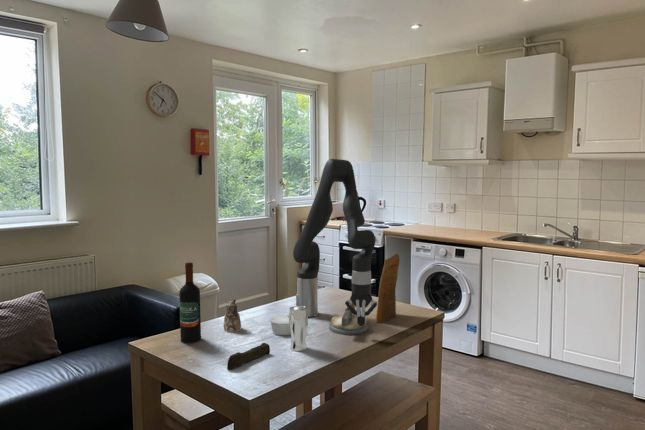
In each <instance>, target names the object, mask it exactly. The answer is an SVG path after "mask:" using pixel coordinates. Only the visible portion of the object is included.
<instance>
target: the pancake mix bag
mask: <svg viewBox="0 0 645 430" xmlns="http://www.w3.org/2000/svg"><path fill="white" fill-rule="evenodd" d="M399 266H400V255H399V253H396V254H394V255H392V256H391V257H389V258H386V259H385V260H384V263H383V268H382V272H381V276H380V280H379V287H378V297H377V307H376V315H375V321H376V323H386V322H387V321H390V320H391V319H393V318H395V317H396V316H397V309H396V308H397V305H396V304H397V301H396V299H397V298H396V287H397V281H398V276H399V275H398V274H399V273H398V272H399Z"/></svg>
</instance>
